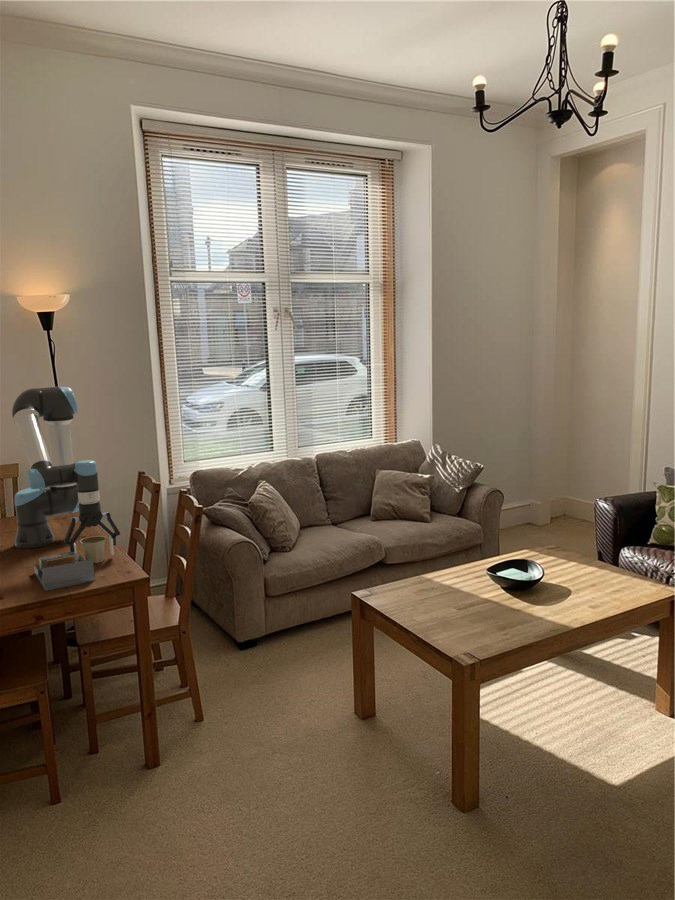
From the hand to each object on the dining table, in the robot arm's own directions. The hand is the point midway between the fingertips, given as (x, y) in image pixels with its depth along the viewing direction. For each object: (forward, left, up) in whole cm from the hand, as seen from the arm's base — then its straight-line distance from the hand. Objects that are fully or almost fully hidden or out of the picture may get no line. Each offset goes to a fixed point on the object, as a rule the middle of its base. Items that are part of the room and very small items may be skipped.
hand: (94, 557), depth 249 cm
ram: (+4, -13, 0) cm, 13 cm away
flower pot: (0, 0, -2) cm, 2 cm away
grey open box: (+11, -13, -2) cm, 17 cm away
